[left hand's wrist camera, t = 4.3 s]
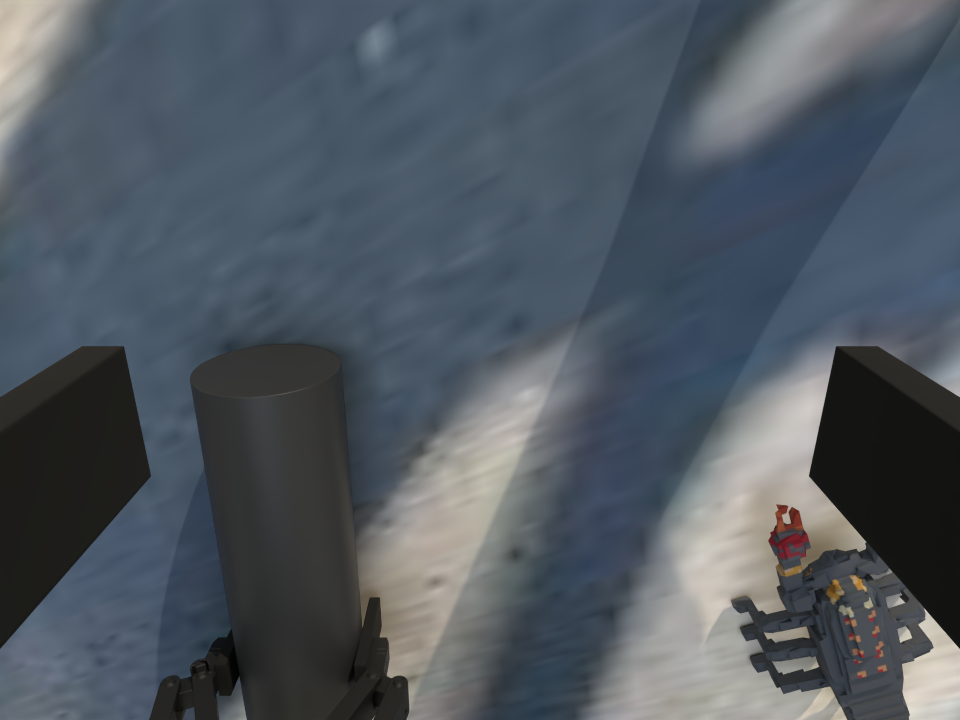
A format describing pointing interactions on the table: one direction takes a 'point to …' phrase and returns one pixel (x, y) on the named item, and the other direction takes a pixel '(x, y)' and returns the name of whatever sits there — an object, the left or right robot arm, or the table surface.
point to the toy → (838, 625)
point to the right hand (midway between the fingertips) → (314, 611)
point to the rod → (283, 523)
